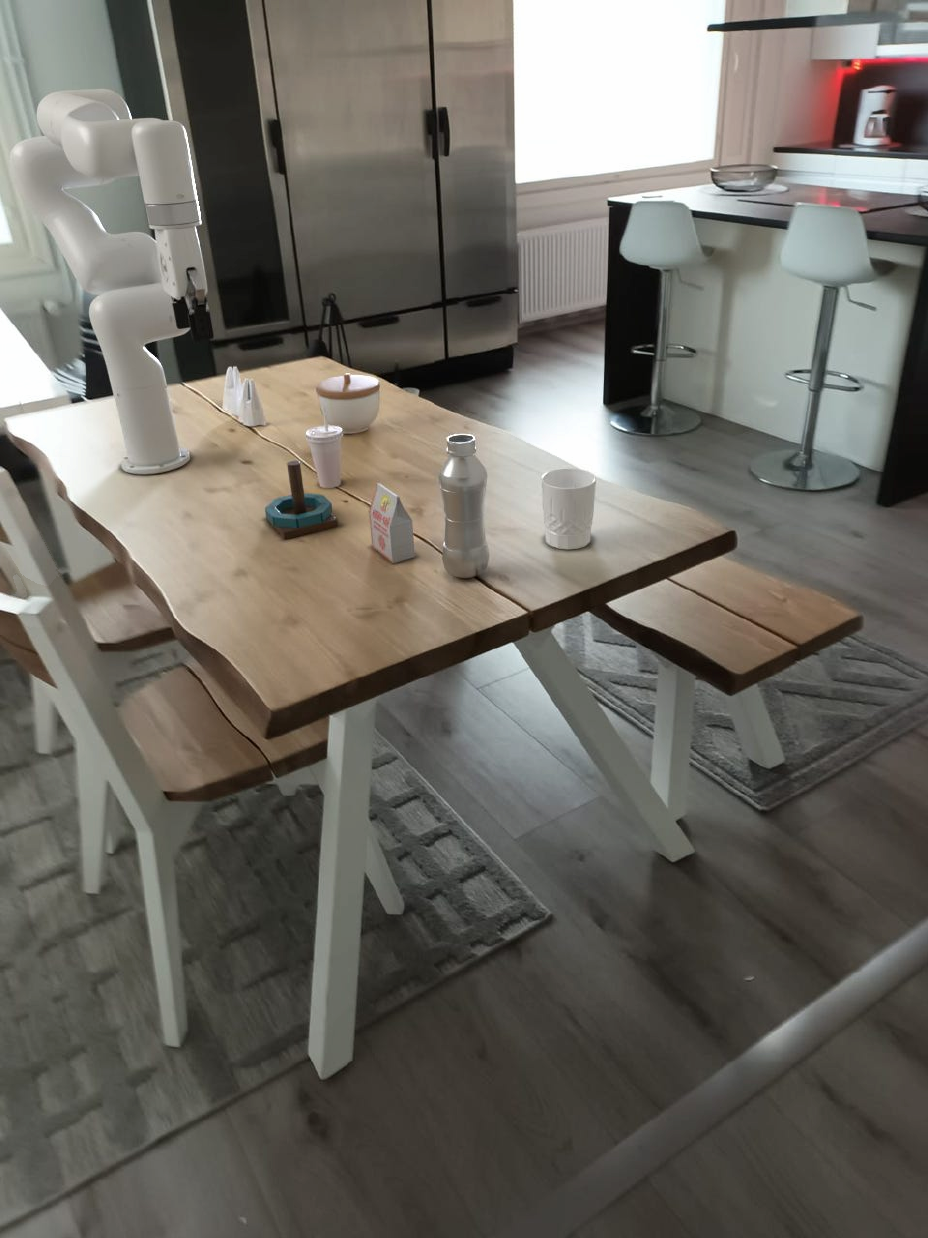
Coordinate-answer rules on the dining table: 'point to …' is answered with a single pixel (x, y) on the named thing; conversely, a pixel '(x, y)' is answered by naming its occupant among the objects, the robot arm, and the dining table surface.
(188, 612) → the dining table surface
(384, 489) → the white milk carton
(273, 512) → the ring
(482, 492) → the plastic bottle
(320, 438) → the smoothie
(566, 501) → the white cup
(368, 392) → the lidded bowl
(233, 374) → the white twin peak shape
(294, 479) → the brown peg stand
